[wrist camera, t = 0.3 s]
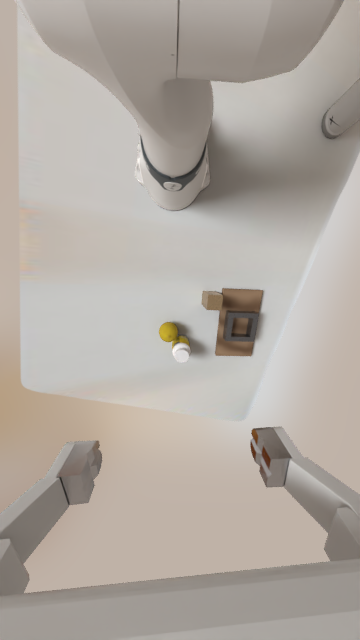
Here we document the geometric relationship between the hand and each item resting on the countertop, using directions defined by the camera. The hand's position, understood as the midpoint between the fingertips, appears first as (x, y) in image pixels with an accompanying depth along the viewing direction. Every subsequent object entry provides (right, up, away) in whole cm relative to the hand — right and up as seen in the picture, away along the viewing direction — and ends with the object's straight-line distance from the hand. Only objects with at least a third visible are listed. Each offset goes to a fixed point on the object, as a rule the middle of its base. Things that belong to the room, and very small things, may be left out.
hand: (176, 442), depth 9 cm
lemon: (-3, +4, +47) cm, 47 cm away
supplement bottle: (0, -1, +48) cm, 48 cm away
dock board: (+19, +5, +47) cm, 51 cm away
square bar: (+9, +13, +44) cm, 47 cm away
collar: (+19, +5, +46) cm, 50 cm away
